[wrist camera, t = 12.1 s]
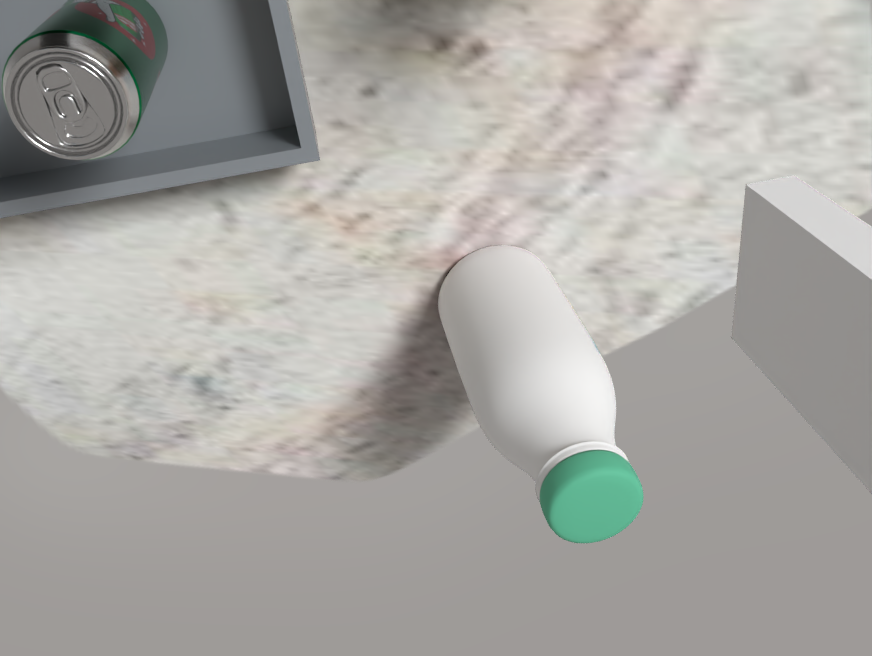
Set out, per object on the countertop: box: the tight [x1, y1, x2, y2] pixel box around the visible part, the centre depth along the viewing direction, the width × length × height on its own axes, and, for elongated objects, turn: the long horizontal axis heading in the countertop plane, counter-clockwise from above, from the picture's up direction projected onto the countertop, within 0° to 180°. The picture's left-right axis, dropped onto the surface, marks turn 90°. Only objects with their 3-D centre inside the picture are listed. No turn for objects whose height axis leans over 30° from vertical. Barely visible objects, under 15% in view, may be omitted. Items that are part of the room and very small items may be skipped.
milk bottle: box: [438, 245, 643, 543], centre depth 45 cm, size 8×8×20 cm
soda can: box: [1, 0, 168, 160], centre depth 36 cm, size 5×5×12 cm
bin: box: [0, 0, 320, 218], centre depth 39 cm, size 14×18×4 cm
